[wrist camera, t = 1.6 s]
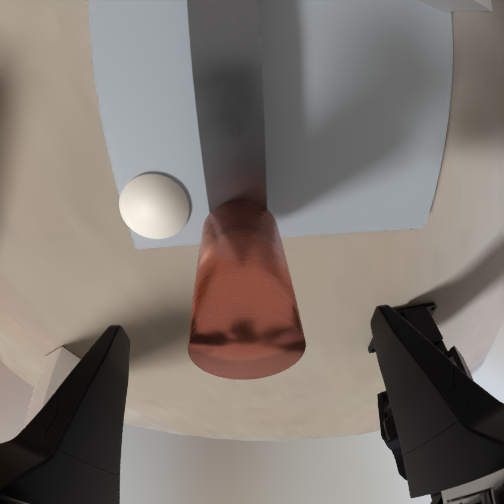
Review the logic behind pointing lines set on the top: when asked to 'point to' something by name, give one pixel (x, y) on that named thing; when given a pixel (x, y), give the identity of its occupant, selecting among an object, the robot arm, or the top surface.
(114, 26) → the blue-grey rectangular board
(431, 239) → the top surface
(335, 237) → the top surface
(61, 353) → the milk
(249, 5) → the lever
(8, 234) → the top surface
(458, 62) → the top surface
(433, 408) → the robot arm
